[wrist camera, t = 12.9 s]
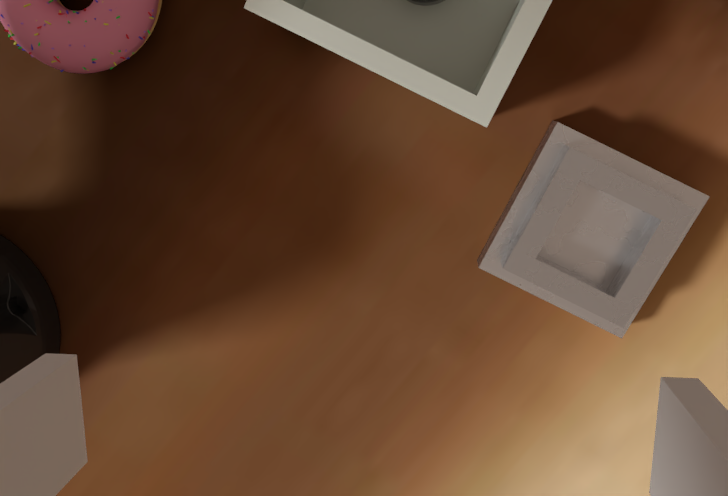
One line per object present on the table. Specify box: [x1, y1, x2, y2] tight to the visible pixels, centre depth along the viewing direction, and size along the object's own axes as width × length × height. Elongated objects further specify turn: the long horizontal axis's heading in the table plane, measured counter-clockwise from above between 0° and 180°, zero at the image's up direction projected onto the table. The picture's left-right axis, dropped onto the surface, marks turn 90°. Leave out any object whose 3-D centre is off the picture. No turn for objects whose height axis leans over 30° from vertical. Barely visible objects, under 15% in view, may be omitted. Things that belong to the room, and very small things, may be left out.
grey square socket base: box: [477, 121, 710, 338], centre depth 42 cm, size 10×10×4 cm
